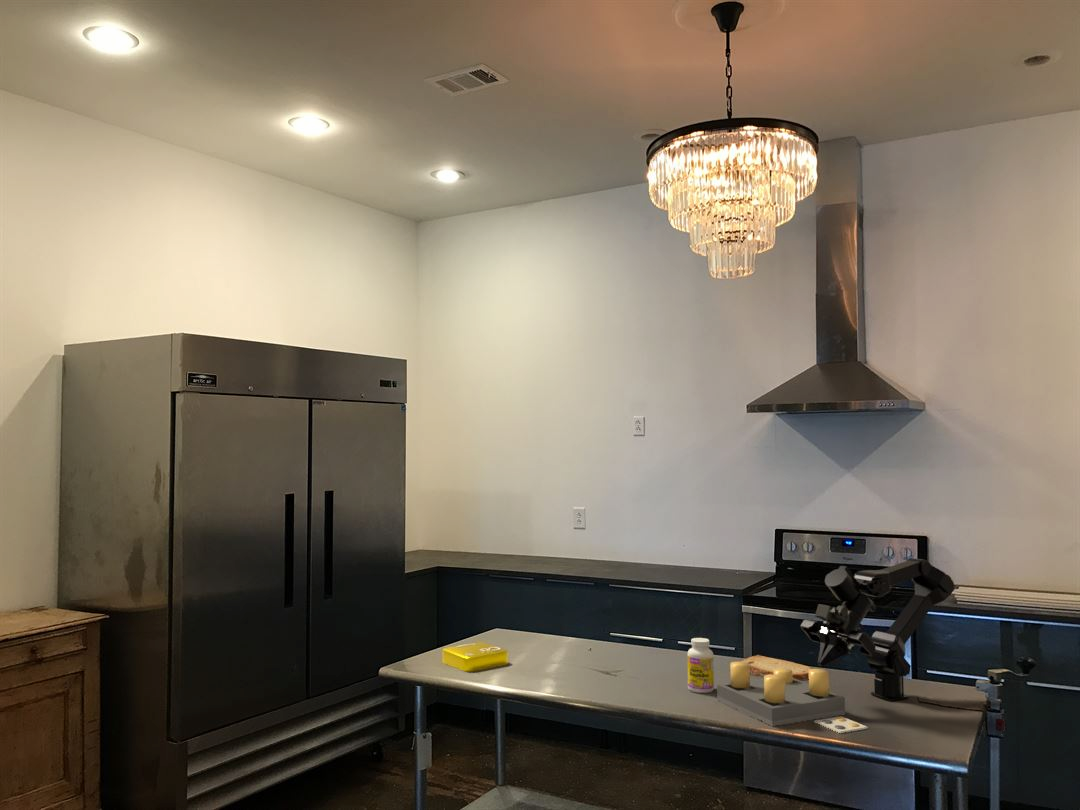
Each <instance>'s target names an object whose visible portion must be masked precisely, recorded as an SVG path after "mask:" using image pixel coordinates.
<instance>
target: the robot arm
mask: <svg viewBox="0 0 1080 810" xmlns="http://www.w3.org/2000/svg"><path fill="white" fill-rule="evenodd" d="M824 578H825V579H824V583H825V586H827V587H828V589H829V590H830V591H831V592H832V594H833V595H834V597H835V598H836V599H837V600H838V601H840V602H842V604H841V605H838V606H837V607H835V606H830V605H826V604H823V603H822V604H821V603H818V604H817V608H816V611H815V614H814V617H815V618H818V619H820V620H822V621H823V625H824V626H825V627H824V626H822V625H821V623H819V621H817V620H816V621H815V620H812V619H803V621H802V623H801V624H800V626H799V627H800V629H801V630H802V631H803V632H804V633H805V635H806V636H807V637H808V639H809V640H810V641H812V642H814V643H818V644H820V646H819V652H818V659H817V664H818V666H820V667H824V666H826V665H827V664H830V663H832V662H833V661H834V660H835V661H836V660H837V659H838V658H841V657H843V656H845V655H848V654H849V655H850V654H852V650H851V649H852V647H854V646H858V647H860V649H859V650H860V652H861V654H862V655H864V656H865V659H866V662H867V666H868V669H869V670H874V678H873V680H874V681H873V682H874V684H873V685H874V691H871V692H870V695H872V696H875V697H877V698H879V699H884V700H885V701H889V702H890V701H891V702H893V701H899V700H904V699H906V700H907V699H909V698H910V696H909V695H907V694H905V693H904V692H905V691H904V690H905V689H904V688H905V687H904V677H907V675H910V673H911V668H912V666H911V664H910V663H909V662H908V661H907V659H906V658H905V657H906V643H907V642H908V640H909V639H910V637H912V635H913V634H914V633H915V631H916V629H917V628H918V627H919V625H920V624H921V623H922V621H923V620H924V619H925V617H926V616H927V615H928V613H929V611H930V610H932V607H933V606H936V605H938V604H940V603H944V601H946V600H947V599H948V598H949V597H950V596H951V595H952V594H953V592H954V589H955V583H954V581H953V579H952V578H951V576H950V575H949V574H947V573H945V572H944V571H943V570H941V569H939V568H937V567H935V566H934V565H932V564H931V563H930V562H929V561H928V560H926V559H921V558H913V557H912V558H909V559H908V558H907V560H905V561H902V562H900V563H896V564H893V565H891V566H888V567H885V568H883V569H876V570H874V569H873V570H872V569H867V570H858V571H857V572H856V573H854V575H853V574H852V572H851V571H850V569H849V567H848V566H844V565H840V566H839V567H838V569H837V568H836V569H833V570H832V571H830V572H829V573H827V574H826V575H825V577H824ZM910 580H911V581H912V582H913V583H914V595H913V596H912V598H911V599H910V600H909V602H908V603H907V604H906V605H905V606H904V608H903V609H902V610H901V612H900V613H899V614H898V616H897V617H896V618H895V620H894V622H893V623H892V624H890V625H891V626H890V627H889V628H888V630H886V631H885V632H884V631H878V630H875V632H873V634H872V636H871V637H870V636H869V635H868V634H867V632H863V631H860V630H862V628H863V627H864V626H863V625H862V622H863V620H864V618H865V617H866V615H867V613H868V612H871V613H876V612H877V608H876V606H875V601H874V600H872V599H870V598H869V597H868V596H870V597H876V598H881V597H883V596H885V595H886V594H888V593H890V591H891V589H892V587H894V586H895V585H899V584H902V583H904V582H907V581H910Z"/></svg>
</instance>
